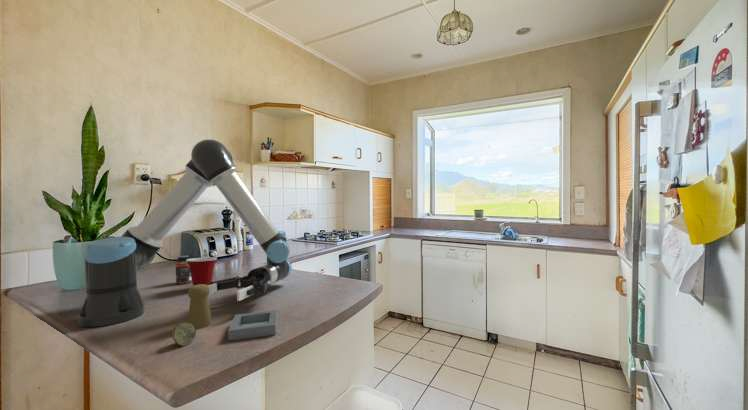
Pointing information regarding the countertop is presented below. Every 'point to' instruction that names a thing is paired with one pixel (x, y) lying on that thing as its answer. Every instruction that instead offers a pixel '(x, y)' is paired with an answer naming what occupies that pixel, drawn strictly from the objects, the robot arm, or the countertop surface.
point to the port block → (253, 325)
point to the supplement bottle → (183, 271)
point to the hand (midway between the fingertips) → (218, 294)
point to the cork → (199, 306)
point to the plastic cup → (201, 270)
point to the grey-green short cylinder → (183, 333)
